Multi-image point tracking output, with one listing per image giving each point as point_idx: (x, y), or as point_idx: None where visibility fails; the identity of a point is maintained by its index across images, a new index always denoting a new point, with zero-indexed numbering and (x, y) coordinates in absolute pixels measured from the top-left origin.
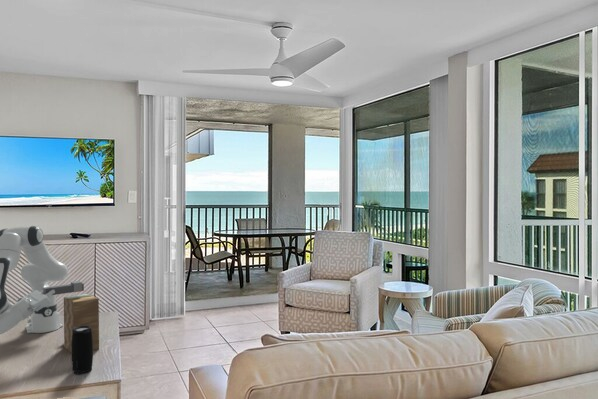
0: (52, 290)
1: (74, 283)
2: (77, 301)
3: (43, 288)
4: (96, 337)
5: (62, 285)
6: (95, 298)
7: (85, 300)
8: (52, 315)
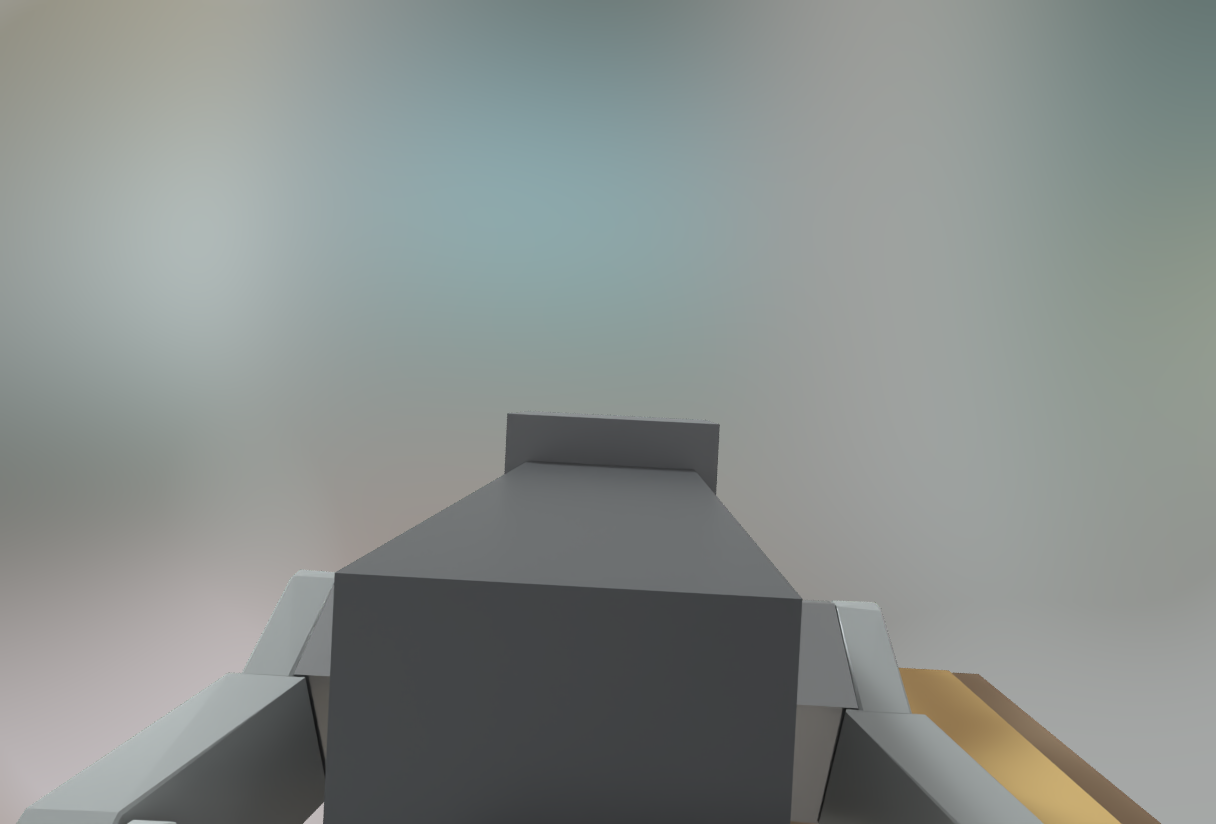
0: (886, 642)
1: (717, 428)
2: (1109, 817)
3: (388, 619)
4: None
5: (543, 479)
6: (955, 682)
7: (1060, 751)
8: None
